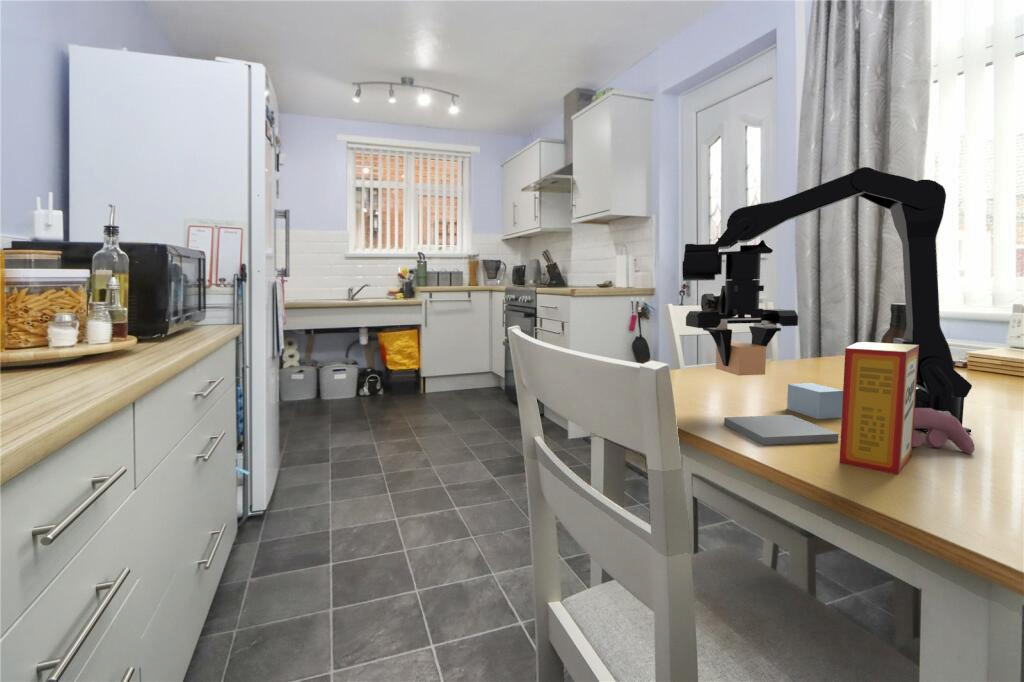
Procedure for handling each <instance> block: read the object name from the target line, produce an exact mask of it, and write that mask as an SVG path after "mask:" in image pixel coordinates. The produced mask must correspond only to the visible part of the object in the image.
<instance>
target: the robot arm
mask: <svg viewBox="0 0 1024 682" xmlns="http://www.w3.org/2000/svg"><path fill="white" fill-rule="evenodd" d="M852 197H860V198H863V199H865V200H867V201H869V202H871V203H873V204H875V205H877V206H879V207H881V208H883V209H887V210H889V211H890V214H891V218H892V222H893V224H894V225H893V226H894V228H895V230H896V231H897V232H896V233H898V237H899V239H900V242H901V245H902V263H903V276H904V277H903V282H904V297H905V298H904V300H905V301H904V303H906V322H907V326H906V330H905V333H904V336H903V339H900V338H893V342H894V344H911V345H919V352H918V367H917V382H916V397H915V408H931V409H934V410H937V411H948V412H950V413H951V415H952V416H954V417H956V418H957V419H958V420H959V422H960V423H961V425H962V426H963V420H964V419H963V417H964V407H965V406H964V405H965V398H967V396H968V395H969V393H970V391H971V389H972V386H973V385H972V383H970V382H969V381H968V380H967V379H965V378H964V376H963V375H961V374H960V373H959V372H958V371H956V370H955V363H954V361H953V356H952V351H951V348H950V345H949V343H948V341H947V339H946V337H945V334H944V331H943V330H942V327H941V320H940V319H941V317H940V316H941V315H940V298H939V278H938V276H939V275H938V258H937V257H938V256H937V254H938V253H937V236H938V232H939V230H940V227H941V224H942V221H943V217H944V212H945V205H946V200H947V193H946V189H945V187H944V186H943V185H942V184H940V183H939V182H937V181H935V180H933V179H919V180H914V179H911V178H908V177H905V176H901V175H896V174H891V173H889V172H888V173H886V172H882V171H879V170H876V169H874V168H872V167H870V166H869V167H868V166H863V167H859V168H857V169H855V170H853V172H851V173H848V174H845V175H842V176H840V177H837V178H835V179H832V180H830V181H827V182H824V183H822V184H819V185H817V186H814V187H811V188H809V189H806V190H803V191H801V192H798V193H795V194H792V195H790V196H787V197H785V198H782V199H779V200H775V201H769V202H761V203H757V204H753V205H748V206H743V207H740V208H737V209H735V210H734V211H733V212H731V214H730V215H729V217H728V219H727V222H726V230H725V231H723V233H722V235H721V236H720V237H717V241H716V242H715V243H708V244H707V243H706V244H705V243H704V244H696V243H685V244H684V252H683V253H684V254H683V261H682V267H681V269H682V272H681V273H682V281H684V282H685V281H687V282H690V281H715V280H716V276H718V275H719V276H722V273H723V256H725V257H726V258H725V284H724V285H721V288H720V294H719V295H715V294H714V293H704V294H702V295H701V296H700V297H701V299H700V300H701V301H700V306H701V307H700V309H701V310H689V311H688V312H687V314H686V317H685V326H686V327H692V328H695V329H696V328H697V329H702V330H703V331H705V332H708V333H709V334H710V336H711V337H712V339H713V341H714V342H715V346H716V345H717V348H718V351H719V354H720V357H721V360H722V363H723V365H724V366H728V364H729V360H730V350H731V342H732V338H733V329H730V328H728V327H729V326H728V325H729V324H734V325H735V324H753V325H749V326H748V328H749V331H750V333H751V344H756V345H761V346H766V348H767V346H768V345H769V344H770V342H771V340H772V339H773V337H774V336H775V335H776V333H777V332H781V331H782V328H781V327H778V326H777V324H778V325H780V326H782V327H798V326H799V314H798V313H797V312H796V310H795V309H781V308H778V309H777V308H775V309H773V308H772V309H771V308H769V309H764V308H760V292H764V291H765V289H764V288H765V285H764V284H763V285H762V284H761V260H762V259H761V257H762V256H761V255H766V254H767V255H769V254H771V253H773V251H774V250H773V248H771V247H770V246H769V245H768V244H767V243H766V241H765V240H764V239H762V240H760V242H759V243H758V244H745V243H749V242H751V241H753V240H755V239H757V238H759V237H761V236H763V235H764V234H766V233H768V232H770V231H771V230H773V229H775V228H777V227H778V226H780V225H782V224H785V223H786V222H788V221H791V220H793V219H796V218H799V217H802V216H805V215H806V214H807V215H808V214H810V213H813V212H815V211H818V210H820V209H823V208H826V207H829V206H831V205H834V204H837V203H839V202H843V201H845V200H849V199H851V198H852ZM739 243H741V244H742V243H743V244H742V245H740V246H739V250H734V251H732V250H731V251H720V250H728V249H730V248H732V247H733V246H736V244H737V245H738V244H739ZM963 428H964V429H965V430H966V432H967V433H968V434H970V433H972V429H971V428H967V427H964V426H963ZM918 430H920V431H923V432H926V433H927V432H928V429H923V428H918Z"/></svg>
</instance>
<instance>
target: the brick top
mask: <svg viewBox="0 0 1024 682" xmlns="http://www.w3.org/2000/svg"><path fill="white" fill-rule="evenodd" d="M786 401H787V402H786V403H787V404H786V409H787V410H789V411H792V412H795V413H799V414H802V415H805V416H808V417H809V418H815V419H817V420H826V419H838V418H839V419H840V418H841V419H842V404H843V389H838V388H834V387H830V386H825V385H822V384H818V383H814V382H804V383H803V382H801V383H787V400H786Z"/></svg>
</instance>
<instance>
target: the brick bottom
mask: <svg viewBox="0 0 1024 682" xmlns="http://www.w3.org/2000/svg"><path fill="white" fill-rule="evenodd" d="M715 346H716V347H715V369H716V370H720V371H721V372H722V371H723V372H725V373H729V374H732V375H735V376H739V377H740V376H759V375H760V376H761V375H762V376H763V375H766V366H767V365H766V362H767V361H766V360H767V347H766V346H761V345H756V344H752V342H750V343H749V342H745V341H731V350H730V360H729V364H728V366H724V365H723V363H722V360H721V357H720V354H719V351H718V348H717V345H716V344H715Z"/></svg>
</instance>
